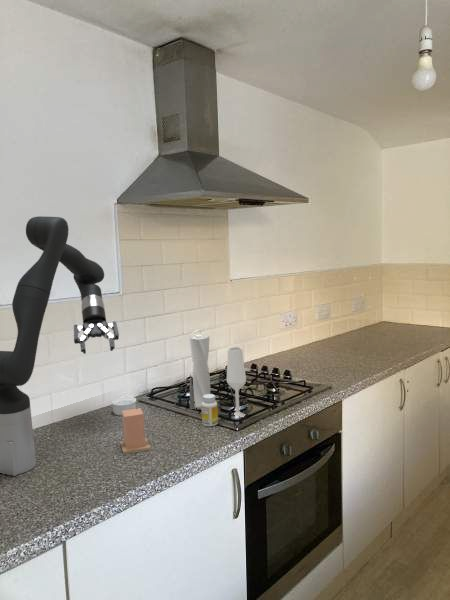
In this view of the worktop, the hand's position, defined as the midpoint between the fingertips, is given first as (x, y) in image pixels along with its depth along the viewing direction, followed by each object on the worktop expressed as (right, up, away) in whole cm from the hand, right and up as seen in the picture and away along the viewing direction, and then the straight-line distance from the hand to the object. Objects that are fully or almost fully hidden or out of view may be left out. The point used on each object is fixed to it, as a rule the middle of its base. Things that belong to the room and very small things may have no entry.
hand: (98, 350), depth 159 cm
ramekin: (+4, -25, +21) cm, 33 cm away
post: (+14, -28, -10) cm, 33 cm away
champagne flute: (+45, -24, +11) cm, 52 cm away
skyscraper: (+32, -23, +24) cm, 46 cm away
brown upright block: (+14, -27, -10) cm, 32 cm away
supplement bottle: (+36, -25, +6) cm, 44 cm away
